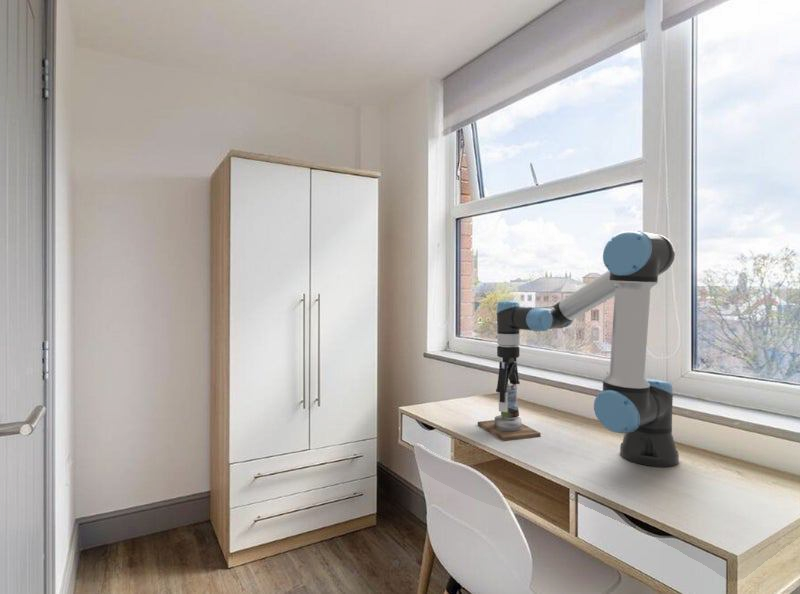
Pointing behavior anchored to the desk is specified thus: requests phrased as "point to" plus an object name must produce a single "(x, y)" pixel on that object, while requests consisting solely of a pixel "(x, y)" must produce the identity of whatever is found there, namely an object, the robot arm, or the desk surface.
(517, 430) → the post board
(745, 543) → the desk surface
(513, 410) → the beverage can
